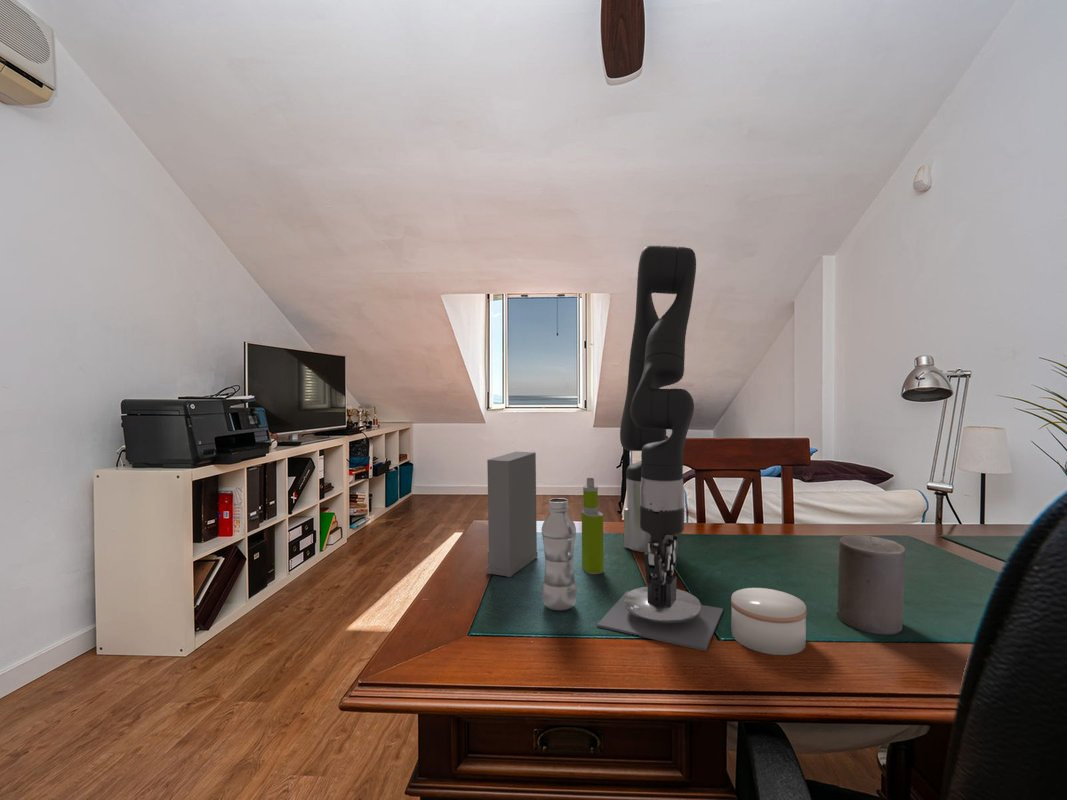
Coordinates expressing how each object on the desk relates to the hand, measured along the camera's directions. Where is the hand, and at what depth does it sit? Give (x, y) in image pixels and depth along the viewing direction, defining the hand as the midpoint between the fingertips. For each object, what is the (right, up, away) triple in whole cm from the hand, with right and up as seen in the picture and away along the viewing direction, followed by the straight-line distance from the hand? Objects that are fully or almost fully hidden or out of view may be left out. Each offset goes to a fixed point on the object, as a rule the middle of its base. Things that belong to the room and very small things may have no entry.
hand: (661, 599), depth 94 cm
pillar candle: (+35, -3, -2) cm, 35 cm away
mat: (0, -3, 0) cm, 3 cm away
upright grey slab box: (-27, -3, +27) cm, 39 cm away
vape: (-9, -3, +25) cm, 26 cm away
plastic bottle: (-18, -4, +5) cm, 19 cm away
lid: (0, -1, 0) cm, 1 cm away
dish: (+15, -4, -7) cm, 17 cm away
